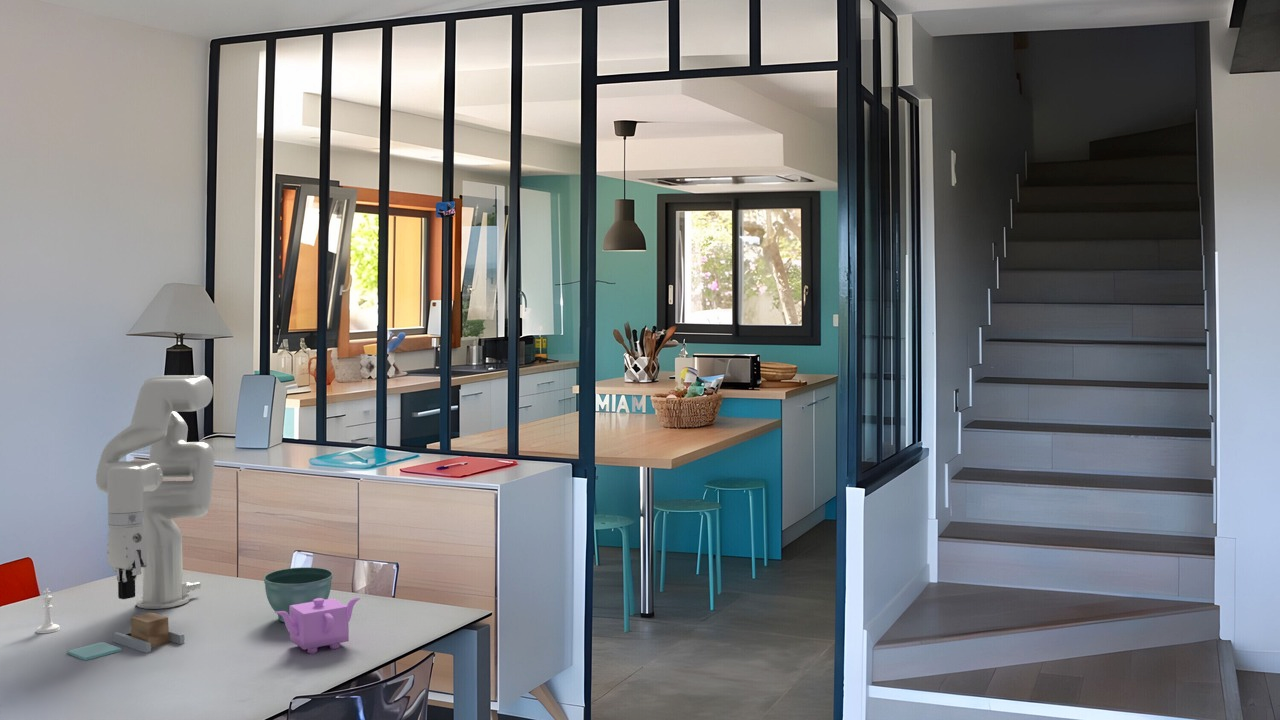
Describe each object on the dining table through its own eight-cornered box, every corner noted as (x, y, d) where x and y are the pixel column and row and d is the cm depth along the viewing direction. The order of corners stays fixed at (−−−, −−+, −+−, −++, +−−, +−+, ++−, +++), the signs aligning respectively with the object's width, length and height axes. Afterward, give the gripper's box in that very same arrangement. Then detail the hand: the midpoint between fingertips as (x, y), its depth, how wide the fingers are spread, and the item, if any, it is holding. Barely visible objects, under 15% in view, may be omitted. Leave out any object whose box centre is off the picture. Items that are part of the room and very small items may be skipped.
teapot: (330, 659, 236) (329, 609, 235) (274, 655, 238) (273, 606, 238) (362, 638, 251) (361, 592, 250) (309, 634, 253) (308, 588, 253)
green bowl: (347, 614, 270) (346, 571, 270) (301, 631, 256) (300, 586, 255) (297, 606, 277) (296, 564, 276) (249, 623, 262) (249, 579, 262)
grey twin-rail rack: (150, 632, 255) (150, 623, 255) (184, 642, 247) (184, 634, 247) (113, 641, 248) (113, 632, 248) (146, 653, 240) (146, 644, 239)
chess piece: (49, 634, 253) (48, 591, 253) (31, 632, 254) (30, 590, 254) (64, 627, 258) (63, 586, 258) (46, 626, 259) (45, 585, 259)
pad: (102, 644, 246) (102, 641, 246) (121, 651, 241) (121, 648, 241) (66, 653, 239) (66, 650, 239) (85, 660, 235) (85, 657, 235)
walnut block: (152, 637, 251) (151, 612, 251) (168, 643, 247) (168, 617, 247) (131, 643, 247) (130, 617, 247) (147, 648, 243) (147, 622, 243)
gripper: (158, 519, 249) (159, 599, 250) (124, 514, 258) (125, 590, 258) (127, 524, 243) (128, 605, 244) (93, 518, 252) (94, 596, 252)
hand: (126, 597), depth 251 cm, fingers closed
